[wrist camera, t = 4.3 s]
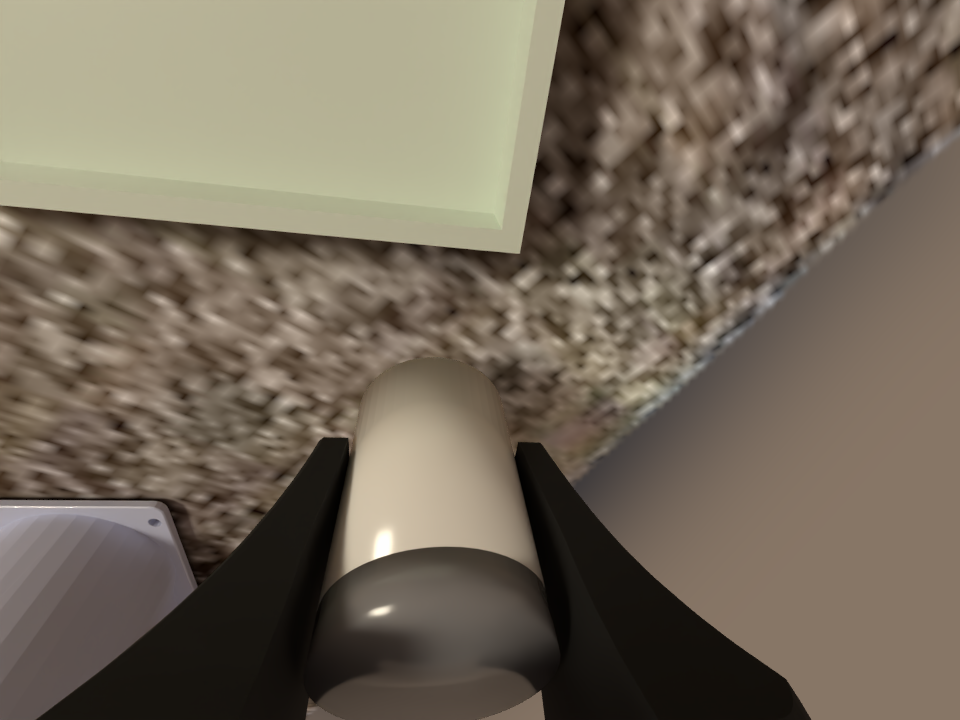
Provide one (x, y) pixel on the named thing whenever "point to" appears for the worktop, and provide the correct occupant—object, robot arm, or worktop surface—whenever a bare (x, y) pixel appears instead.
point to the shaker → (431, 560)
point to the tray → (281, 113)
